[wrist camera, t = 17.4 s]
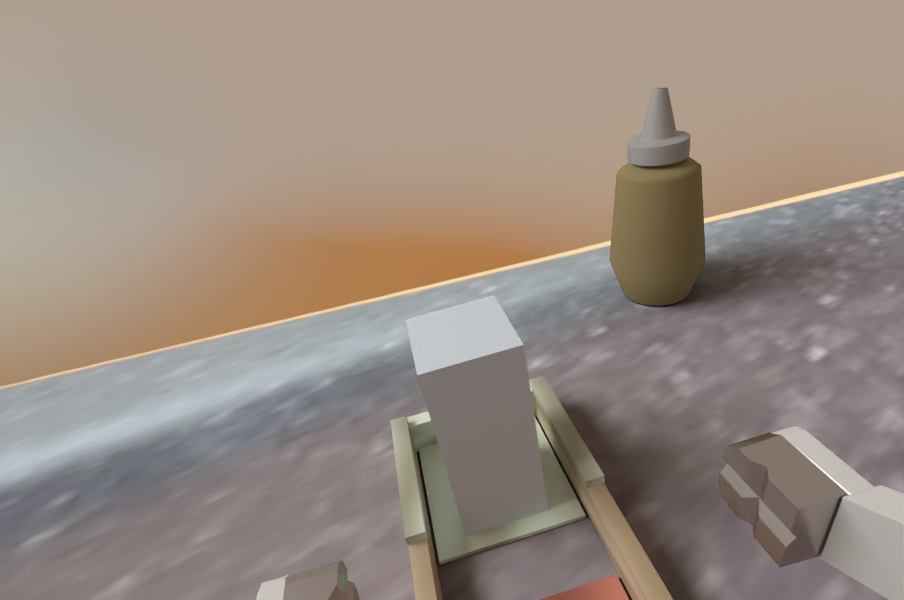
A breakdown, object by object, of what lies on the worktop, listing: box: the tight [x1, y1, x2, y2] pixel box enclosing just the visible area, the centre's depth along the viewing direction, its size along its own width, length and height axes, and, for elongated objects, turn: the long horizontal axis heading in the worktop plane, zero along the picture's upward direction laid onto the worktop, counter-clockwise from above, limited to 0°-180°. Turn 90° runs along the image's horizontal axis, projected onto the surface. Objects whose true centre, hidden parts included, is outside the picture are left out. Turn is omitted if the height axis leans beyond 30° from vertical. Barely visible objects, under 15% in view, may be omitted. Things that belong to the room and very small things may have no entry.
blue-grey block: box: [405, 295, 548, 536], centre depth 26 cm, size 5×5×12 cm
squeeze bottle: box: [610, 88, 705, 306], centre depth 41 cm, size 8×8×18 cm
